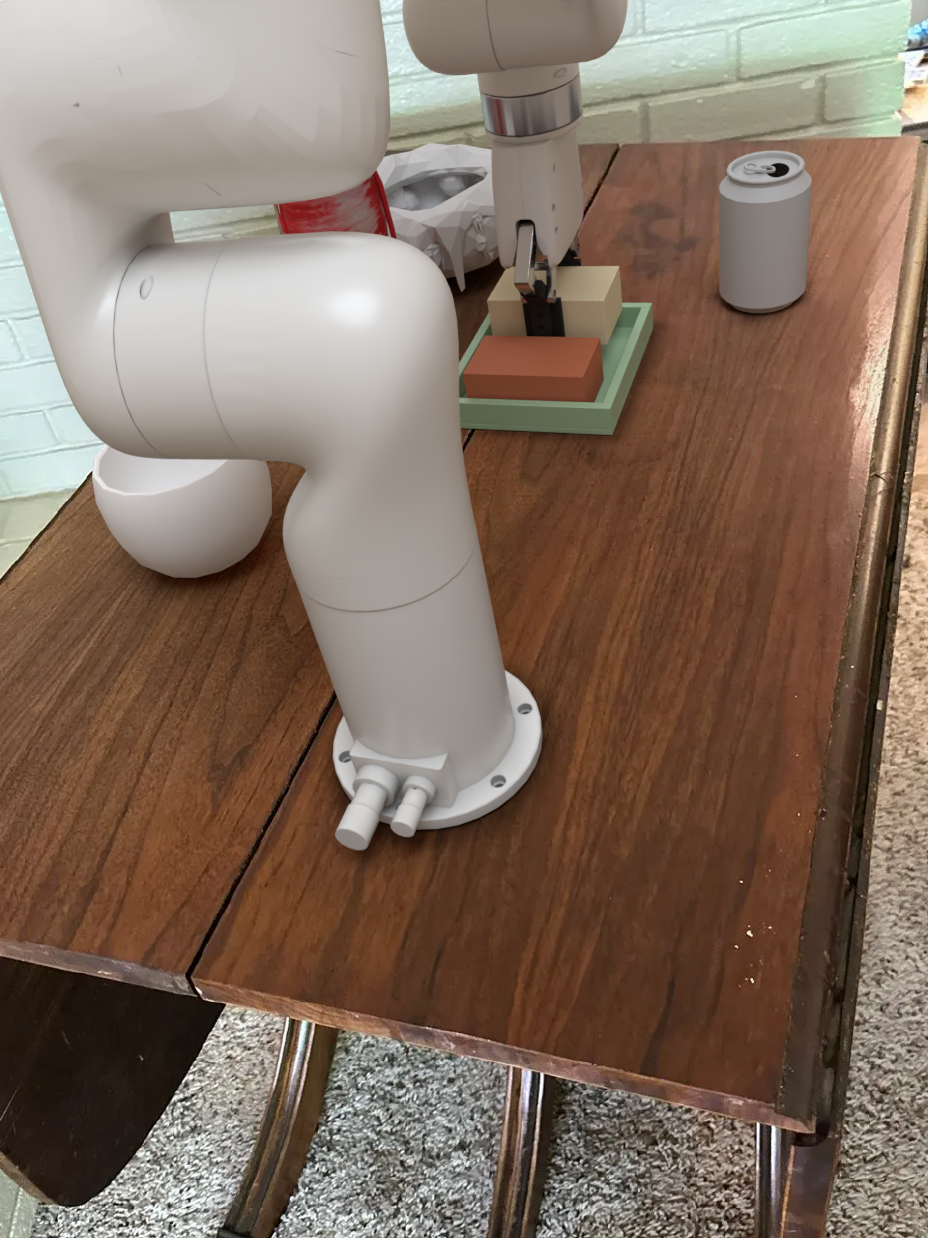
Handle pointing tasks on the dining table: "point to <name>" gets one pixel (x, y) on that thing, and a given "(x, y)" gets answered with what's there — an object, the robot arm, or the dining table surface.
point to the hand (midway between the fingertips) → (556, 319)
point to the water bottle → (340, 212)
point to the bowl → (443, 205)
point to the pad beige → (564, 302)
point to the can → (764, 231)
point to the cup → (183, 509)
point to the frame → (559, 415)
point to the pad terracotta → (536, 369)
